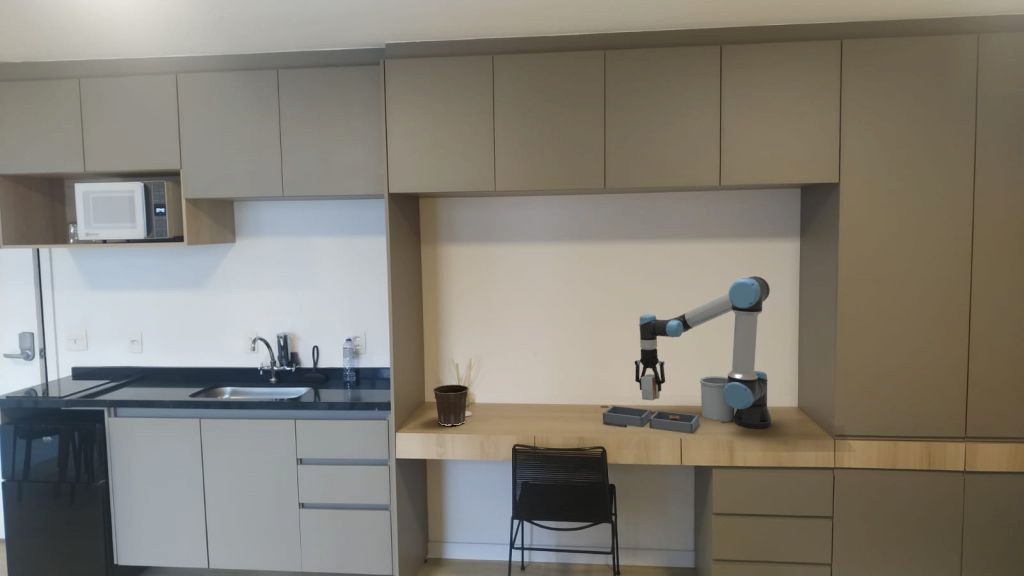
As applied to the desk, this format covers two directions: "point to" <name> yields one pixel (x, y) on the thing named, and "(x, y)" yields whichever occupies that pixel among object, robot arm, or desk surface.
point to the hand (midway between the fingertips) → (650, 397)
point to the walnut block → (674, 418)
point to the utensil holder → (715, 399)
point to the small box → (648, 387)
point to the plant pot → (451, 403)
